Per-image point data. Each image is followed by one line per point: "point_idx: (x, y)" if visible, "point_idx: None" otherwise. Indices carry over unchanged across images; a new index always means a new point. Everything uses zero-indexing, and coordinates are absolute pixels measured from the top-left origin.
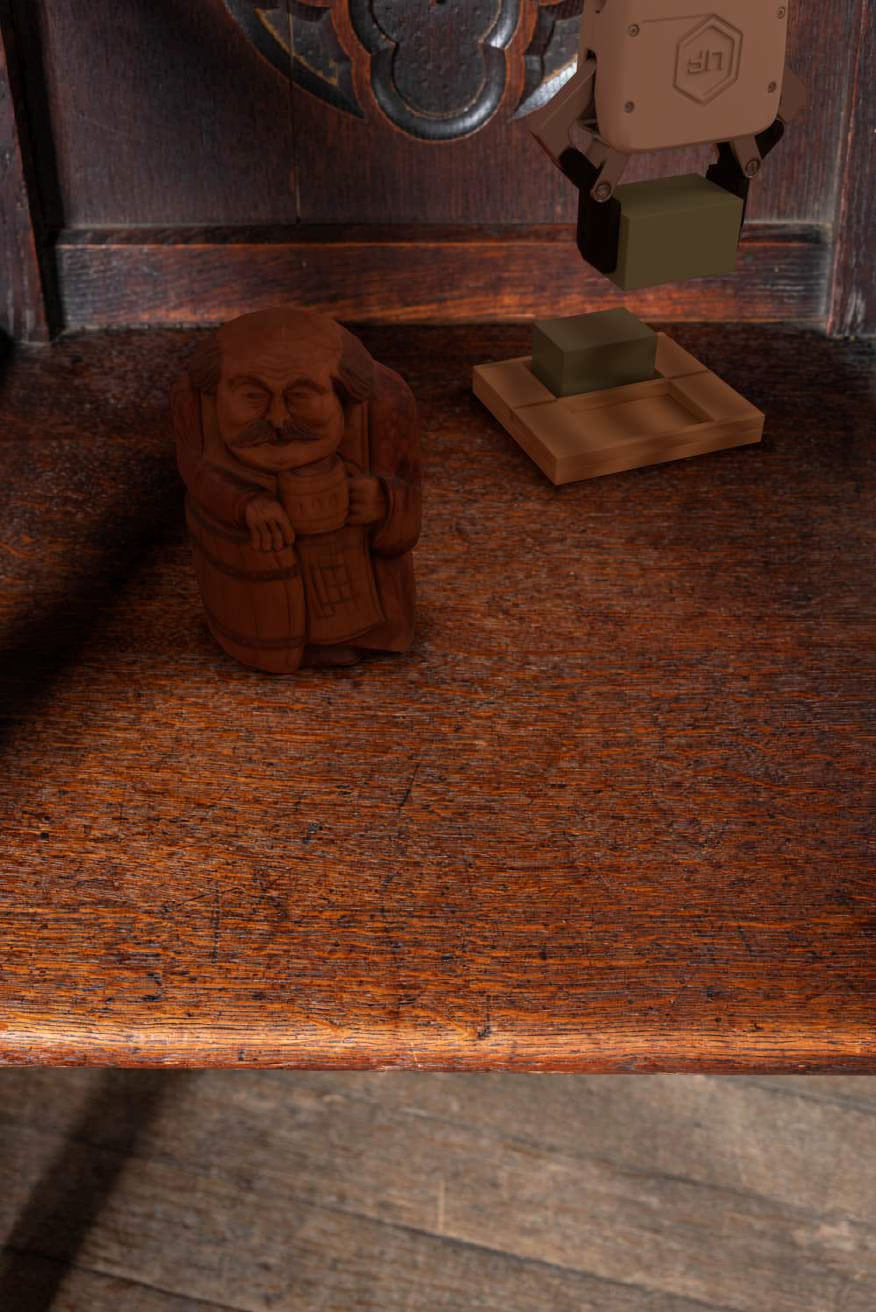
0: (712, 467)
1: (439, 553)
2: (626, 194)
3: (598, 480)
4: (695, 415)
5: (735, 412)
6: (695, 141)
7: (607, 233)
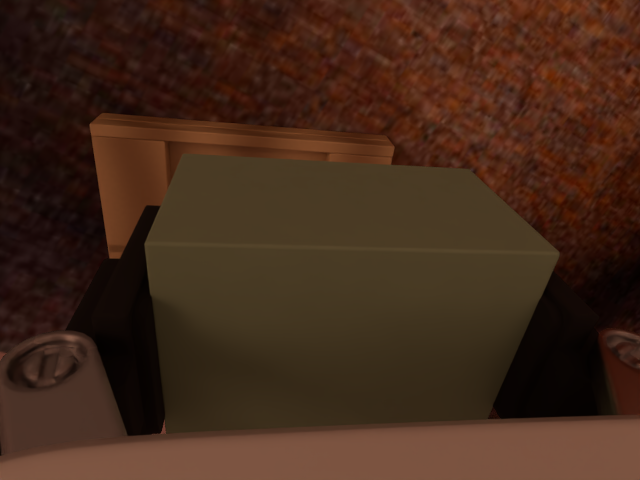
0: (194, 87)
1: (566, 72)
2: (430, 388)
3: (336, 125)
4: (170, 179)
5: (128, 146)
6: (480, 429)
7: None
